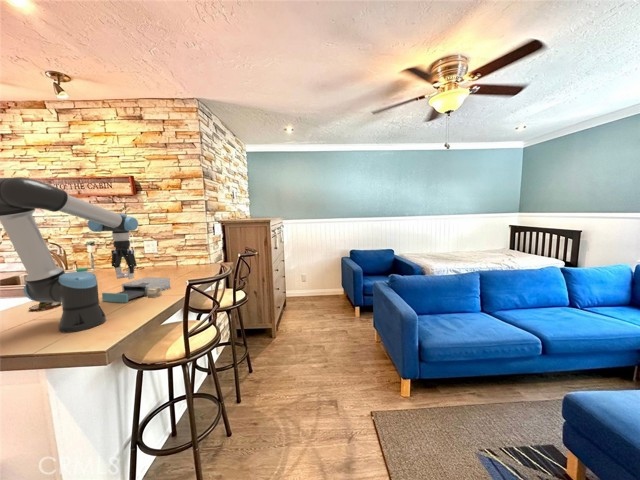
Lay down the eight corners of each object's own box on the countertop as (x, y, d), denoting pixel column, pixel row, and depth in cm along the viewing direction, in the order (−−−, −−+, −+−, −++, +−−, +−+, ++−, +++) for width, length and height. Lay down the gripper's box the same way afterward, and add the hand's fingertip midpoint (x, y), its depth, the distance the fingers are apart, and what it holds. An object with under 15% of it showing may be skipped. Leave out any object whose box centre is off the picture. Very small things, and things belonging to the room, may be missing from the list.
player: (146, 296, 149) (145, 285, 149) (122, 295, 153) (121, 283, 152) (170, 288, 167) (169, 277, 166) (148, 287, 171) (147, 277, 170)
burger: (54, 303, 141) (52, 290, 140) (67, 305, 137) (65, 292, 136) (23, 311, 129) (21, 297, 129) (37, 313, 126) (35, 299, 125)
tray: (126, 302, 138) (125, 294, 137) (102, 301, 141) (101, 293, 141) (152, 293, 154) (151, 286, 153) (130, 292, 157) (129, 285, 157)
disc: (137, 274, 148) (136, 272, 148) (124, 278, 141) (123, 275, 141) (126, 274, 150) (126, 271, 150) (112, 277, 142) (112, 275, 142)
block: (155, 297, 146) (154, 289, 146) (148, 297, 147) (147, 289, 147) (162, 295, 151) (161, 287, 151) (155, 294, 152) (154, 287, 152)
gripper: (142, 239, 145) (145, 277, 147) (113, 239, 149) (117, 276, 151) (129, 241, 137) (133, 280, 140) (100, 240, 142) (104, 279, 144)
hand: (125, 278), depth 146 cm, fingers closed on disc, 8 cm apart
